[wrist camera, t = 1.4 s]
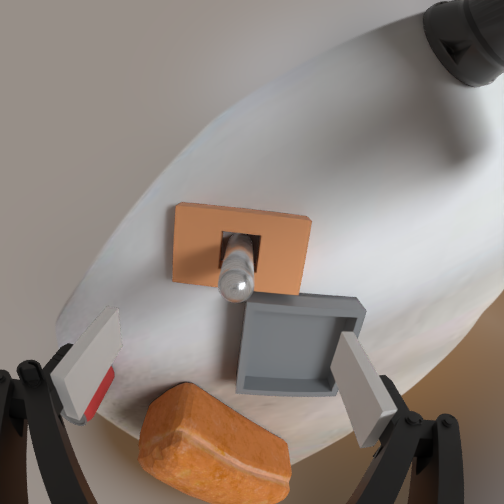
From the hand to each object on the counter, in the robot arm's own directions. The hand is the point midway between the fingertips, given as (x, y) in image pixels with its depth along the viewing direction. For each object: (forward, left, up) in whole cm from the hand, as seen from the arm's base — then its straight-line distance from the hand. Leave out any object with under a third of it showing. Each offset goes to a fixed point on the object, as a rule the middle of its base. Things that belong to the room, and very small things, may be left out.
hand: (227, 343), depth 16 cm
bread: (0, +35, -21) cm, 41 cm away
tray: (-9, +13, -20) cm, 26 cm away
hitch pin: (0, 0, -20) cm, 20 cm away
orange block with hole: (0, 0, -20) cm, 20 cm away
